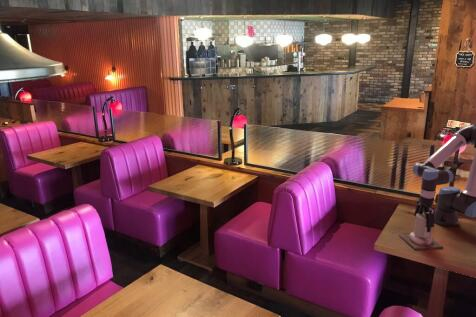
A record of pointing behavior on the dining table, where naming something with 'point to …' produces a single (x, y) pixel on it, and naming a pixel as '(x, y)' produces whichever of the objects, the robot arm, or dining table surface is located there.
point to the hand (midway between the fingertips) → (421, 232)
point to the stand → (420, 242)
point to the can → (420, 225)
